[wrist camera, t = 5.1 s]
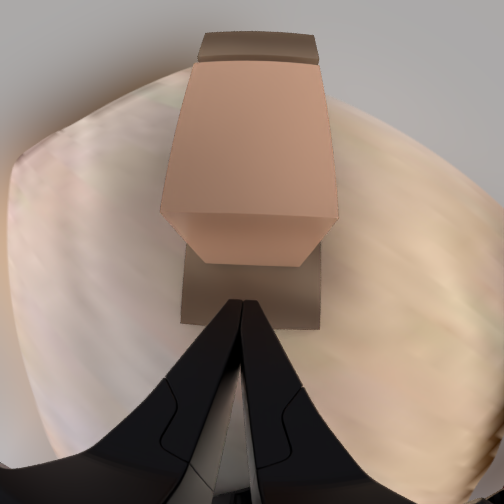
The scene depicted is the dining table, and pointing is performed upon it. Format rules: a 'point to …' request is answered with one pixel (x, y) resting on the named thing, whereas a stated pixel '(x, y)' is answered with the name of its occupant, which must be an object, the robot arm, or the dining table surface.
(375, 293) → the dining table surface
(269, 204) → the pink box
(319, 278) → the stop block
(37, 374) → the dining table surface
